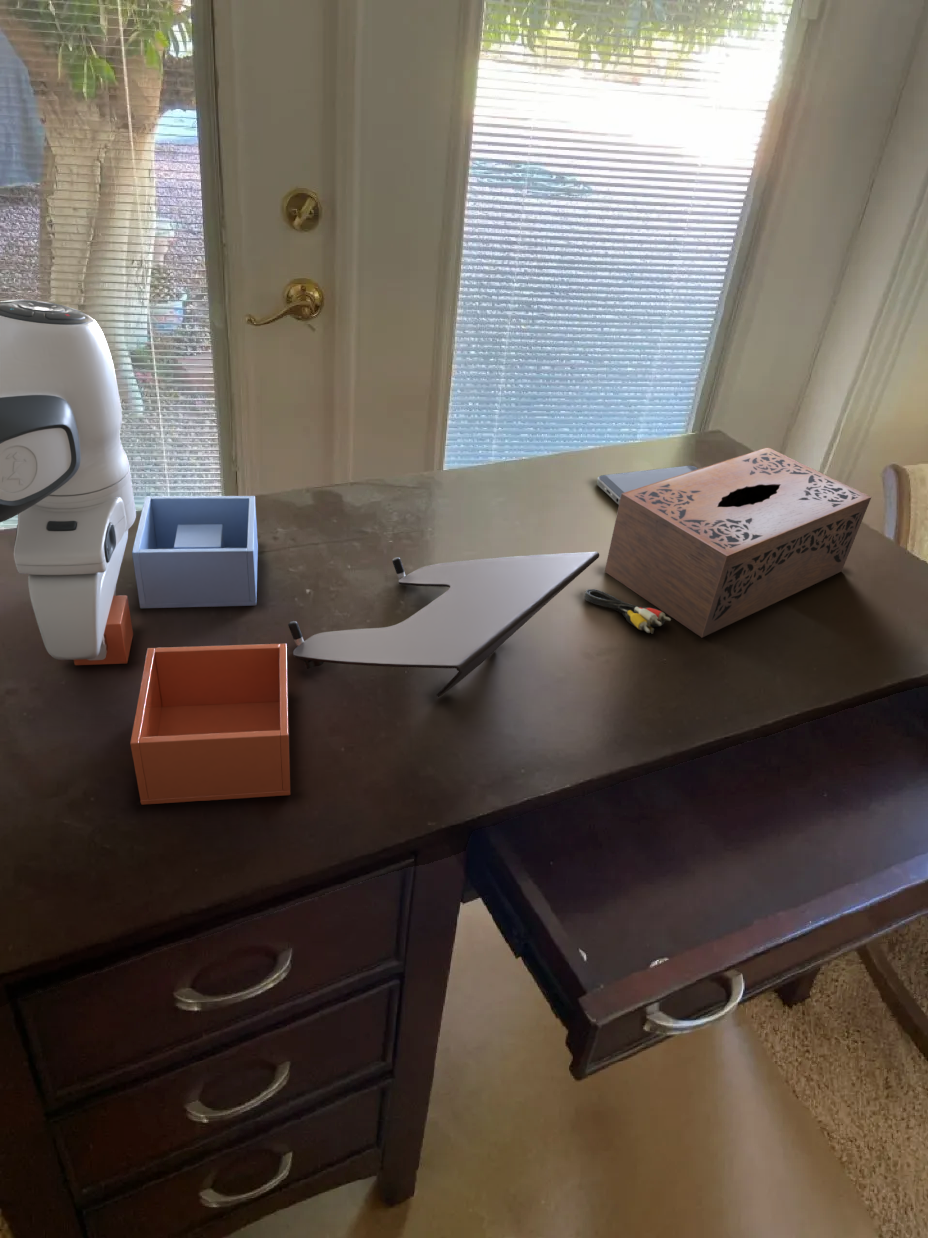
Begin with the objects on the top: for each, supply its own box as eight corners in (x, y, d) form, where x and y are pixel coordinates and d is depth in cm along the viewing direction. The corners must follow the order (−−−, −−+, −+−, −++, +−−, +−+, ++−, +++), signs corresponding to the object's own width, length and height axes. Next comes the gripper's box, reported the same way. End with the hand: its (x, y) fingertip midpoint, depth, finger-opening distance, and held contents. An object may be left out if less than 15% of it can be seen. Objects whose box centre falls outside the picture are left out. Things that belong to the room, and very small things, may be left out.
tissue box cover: (701, 637, 92) (726, 556, 86) (604, 571, 101) (621, 493, 95) (841, 571, 106) (871, 496, 100) (745, 518, 115) (767, 447, 109)
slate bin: (140, 608, 88) (131, 552, 84) (152, 548, 97) (145, 495, 93) (256, 605, 90) (253, 551, 86) (257, 547, 99) (255, 495, 95)
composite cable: (578, 599, 96) (582, 580, 95) (608, 586, 99) (612, 567, 97) (646, 646, 90) (651, 626, 89) (676, 631, 93) (682, 612, 91)
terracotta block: (74, 665, 80) (66, 625, 77) (83, 635, 84) (75, 596, 81) (127, 663, 81) (120, 623, 78) (133, 633, 84) (127, 595, 82)
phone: (622, 509, 113) (724, 496, 119) (624, 502, 113) (726, 489, 119) (593, 482, 119) (692, 470, 125) (595, 475, 118) (694, 464, 124)
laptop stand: (438, 620, 101) (414, 545, 97) (616, 619, 86) (594, 530, 83) (294, 725, 85) (260, 639, 82) (483, 746, 70) (449, 642, 67)
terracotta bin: (141, 805, 68) (130, 743, 64) (156, 707, 77) (147, 647, 73) (290, 795, 70) (288, 735, 66) (288, 701, 79) (286, 643, 75)
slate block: (178, 584, 91) (173, 547, 88) (181, 561, 94) (177, 524, 92) (223, 584, 92) (220, 546, 89) (225, 560, 95) (222, 524, 92)
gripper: (60, 446, 81) (84, 573, 89) (7, 569, 65) (42, 711, 73) (133, 447, 82) (150, 572, 90) (98, 567, 66) (123, 707, 74)
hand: (102, 635), depth 81 cm, fingers closed on terracotta block, 4 cm apart
